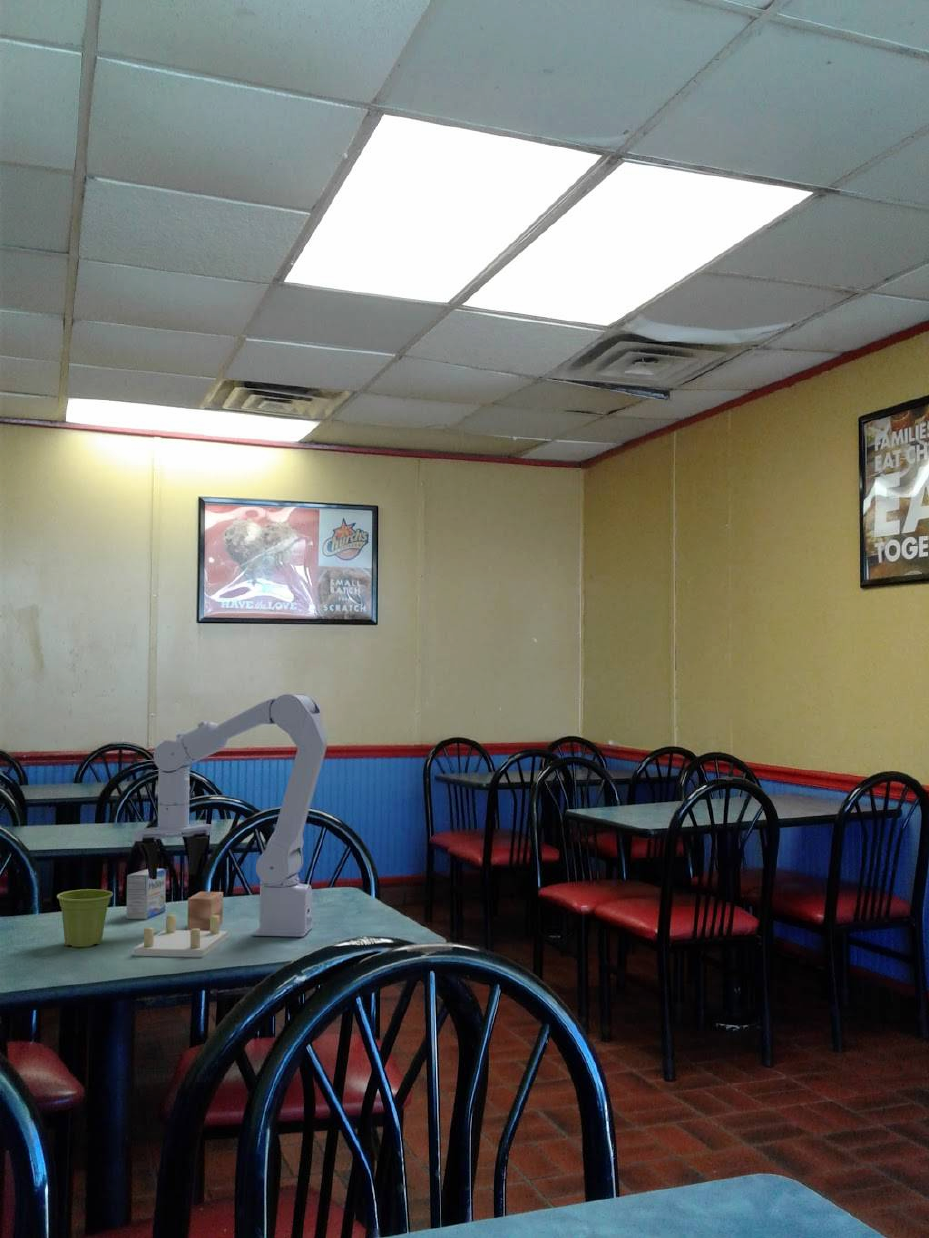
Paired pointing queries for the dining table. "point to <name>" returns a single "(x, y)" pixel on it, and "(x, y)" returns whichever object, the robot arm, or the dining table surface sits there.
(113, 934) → the dining table surface
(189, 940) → the standoff plate
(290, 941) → the dining table surface
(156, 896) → the medicine box
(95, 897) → the plant pot
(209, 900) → the board block
